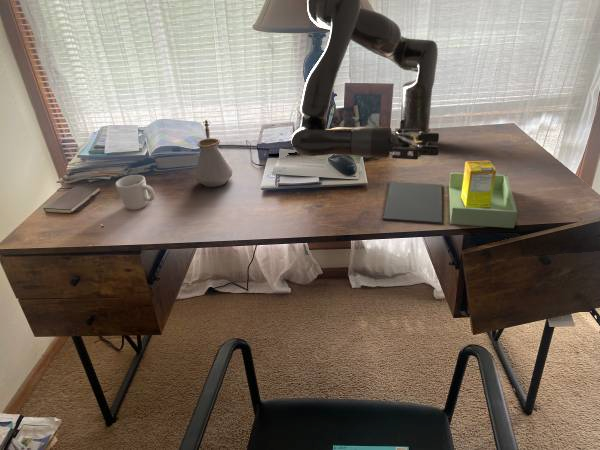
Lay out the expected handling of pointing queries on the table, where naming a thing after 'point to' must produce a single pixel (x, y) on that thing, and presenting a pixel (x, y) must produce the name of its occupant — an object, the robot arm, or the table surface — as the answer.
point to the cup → (134, 191)
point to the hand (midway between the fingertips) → (438, 144)
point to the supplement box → (478, 184)
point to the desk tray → (496, 216)
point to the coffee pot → (212, 162)
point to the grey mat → (414, 203)
